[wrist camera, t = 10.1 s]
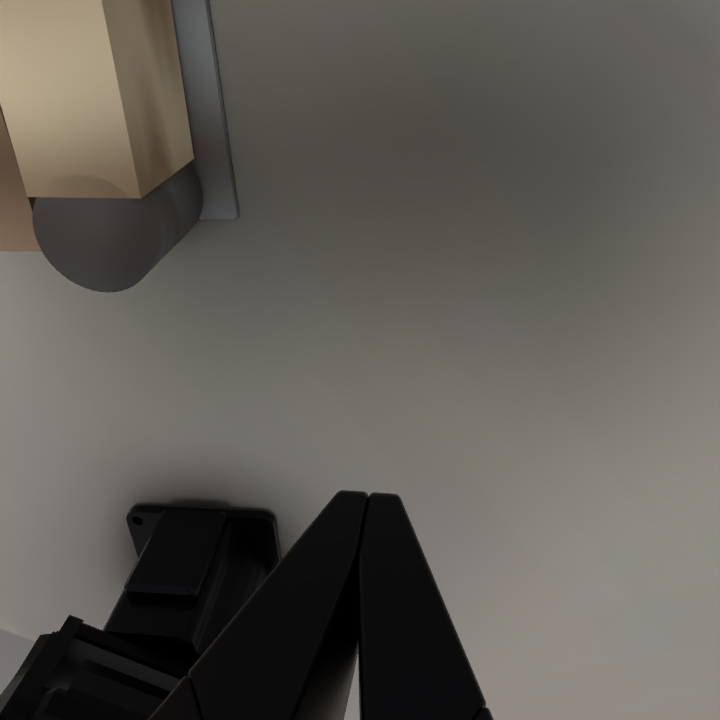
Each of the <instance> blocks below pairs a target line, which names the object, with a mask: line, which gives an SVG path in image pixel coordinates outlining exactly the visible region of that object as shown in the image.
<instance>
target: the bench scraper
mask: <svg viewBox="0 0 720 720" xmlns="http://www.w3.org/2000/svg"><path fill="white" fill-rule="evenodd" d="M170 2H171V8H172V15H173V22H174V28H175V35H176V41H177V48H178V55H179V61H180V68H181V75H182V81H183V88H184V95H185V101H186V108H187V114H188V121H189V128H190V134H191V141H192V148H193V154H194V159H193V160H192V161H190V162H189V163H190V164H191V165H192V167H193V169H194V170H195V172H196V174H197V176H198V178H199V181H200V184H201V188H202V195H203V205H202V210H201V213H200V216H199V218H198V220H237V219H238V217H239V211H238V204H237V197H236V190H235V183H234V176H233V169H232V162H231V155H230V148H229V141H228V134H227V128H226V121H225V114H224V107H223V100H222V93H221V86H220V79H219V72H218V65H217V58H216V51H215V44H214V37H213V30H212V23H211V16H210V9H209V2H208V0H170ZM36 198H37V197H27V194H26V190H25V187H24V183H23V180H22V177H21V173H20V170H19V166H18V163H17V159H16V156H15V152H14V149H13V146H12V142H11V139H10V135H9V132H8V128H7V125H6V122H5V118H4V115H3V111H2V108H1V104H0V251H42V250H41V248H40V246H39V244H38V242H37V239H36V237H35V233H34V229H33V221H32V214H33V207H34V203H35V200H36Z"/></svg>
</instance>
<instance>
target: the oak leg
mask: <svg viewBox="0 0 720 720" xmlns="http://www.w3.org/2000/svg"><path fill="white" fill-rule="evenodd" d="M0 104H1V108H2V111H3V115H4V118H5V122H6V125H7V128H8V132H9V135H10V139H11V142H12V146H13V149H14V152H15V156H16V159H17V163H18V166H19V170H20V173H21V177H22V180H23V183H24V187H25V190H26V194H27V197H37V198H36V200H35V203H34V207H33V214H32V221H33V229H34V233H35V237H36V239H37V242H38V244H39V246H40V248H41V250H42V252H43V253H44V255H45V257H46V258H47V259H48V261H49V262H50V263H51V264H52V265H53V266H54V267H55V269H56V270H58V271H59V272H60V273H61V274H62V275H63V276H65V277H66V278H68V279H69V280H70V281H72V282H74V283H76V284H78V285H80V286H82V287H84V288H87V289H90V290H94V291H99V292H117V291H122V290H125V289H128V288H130V287H132V286H134V285H135V284H137V283H138V282H139V281H140V280H141V279H142V278H143V277H144V276H145V275H146V274H147V273H148V272H149V271H150V270H151V269H152V268H153V267H154V266H155V265H156V264H157V263H158V262H159V261H160V260H161V259H162V258H163V257H164V256H165V255H166V254H167V253H168V252H169V251H170V250H171V249H172V248H173V247H174V246H175V245H176V244H177V243H178V242H179V241H180V240H181V239H182V238H183V237H184V236H185V234H186V233H187V232H188V231H189V230H190V229H191V228H192V227H193V226H194V225H195V224H196V222H197V220H198V218H199V216H200V213H201V210H202V205H203V195H202V188H201V184H200V181H199V178H198V176H197V174H196V172H195V170H194V169H193V167H192V165H191V164H190V163H189V162H190V161H192V160H193V159H194V154H193V148H192V141H191V134H190V128H189V121H188V114H187V108H186V101H185V95H184V88H183V81H182V75H181V68H180V61H179V55H178V48H177V41H176V35H175V28H174V22H173V15H172V8H171V2H170V0H0Z"/></svg>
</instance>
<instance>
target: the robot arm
mask: <svg viewBox="0 0 720 720" xmlns="http://www.w3.org/2000/svg"><path fill="white" fill-rule="evenodd" d="M139 517H140V518H139ZM126 519H127V523H128V526H129V530H130V533H131V536H132V539H133V542H134V545H135V549H136V552H137V555H138V560H137V562H136V564H135V566H134V568H133V570H132V571H131V573H130V575H129V577H128V579H127V581H126V583H125V586H124V590H123V592H122V594H121V596H120V598H119V600H118V602H117V604H116V606H115V608H114V609H113V611H112V613H111V615H110V617H109V619H108V621H107V623H106V625H105V627H104V629H103V631H102V630H100V629H97V628H95V627H92V626H90V625H87V624H84V623H83V621H84V620H82V619H79V618H77V617H74V616H72V615H69V617H68V618H67V620H66V621H65V623H64V624H63V626H62V628H61V629H60V631H59V632H58V631H57V632H54V631H53V632H52V634H44V635H40V636H39V638H38V639H37V641H36V643H35V644H34V646H33V648H32V649H31V651H30V652H29V654H28V656H27V657H26V659H25V661H24V662H23V664H22V666H21V667H20V669H19V670H18V672H17V673H16V675H15V677H14V678H13V679H12V681H11V682H10V683H9V685H8V686H7V687H6V689H5V690H4V691H3V693H2V694H1V695H0V720H344V715H345V711H346V706H347V702H348V697H349V693H350V688H351V684H352V679H353V675H354V670H355V665H356V659H357V654H358V655H359V706H360V720H493V717H492V715H491V712H490V710H489V709H488V708H486V701H485V699H484V697H483V694H482V692H481V689H480V687H479V685H478V682H477V680H476V677H475V675H474V673H473V670H472V668H471V665H470V663H469V661H468V658H467V656H466V654H465V651H464V649H463V646H462V644H461V642H460V639H459V637H458V634H457V632H456V630H455V627H454V625H453V622H452V620H451V618H450V615H449V613H448V610H447V608H446V606H445V603H444V601H443V599H442V596H441V594H440V591H439V589H438V587H437V584H436V582H435V579H434V577H433V575H432V572H431V570H430V567H429V565H428V563H427V560H426V558H425V555H424V553H423V551H422V548H421V546H420V543H419V541H418V539H417V536H416V534H415V532H414V529H413V527H412V524H411V522H410V520H409V517H408V515H407V512H406V510H405V508H404V505H403V503H402V500H401V498H400V497H399V496H398V495H397V494H389V493H375V492H374V493H371V494H370V495H369V496H368V494H367V493H366V492H361V491H347V490H341V491H339V492H338V493H337V494H336V495H335V496H334V497H333V498H332V499H331V501H330V502H329V503H328V504H327V505H326V507H325V508H324V509H323V510H322V511H321V513H320V514H319V515H318V516H317V518H316V519H315V520H314V521H313V522H312V524H311V525H310V526H309V527H308V528H307V530H306V531H305V532H304V533H303V534H302V536H301V537H300V538H299V539H298V540H297V542H296V543H295V544H294V545H293V546H292V548H291V549H290V550H289V551H288V552H287V554H286V555H285V556H284V557H283V558H282V559H281V552H280V545H279V539H278V532H277V526H276V520H275V518H274V517H273V516H272V515H271V514H269V513H267V512H259V511H238V510H218V509H198V508H178V507H157V506H134V507H132V508H131V510H130V512H129V513H128V515H127V517H126ZM261 523H264V524H266V525H264V524H261Z"/></svg>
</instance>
